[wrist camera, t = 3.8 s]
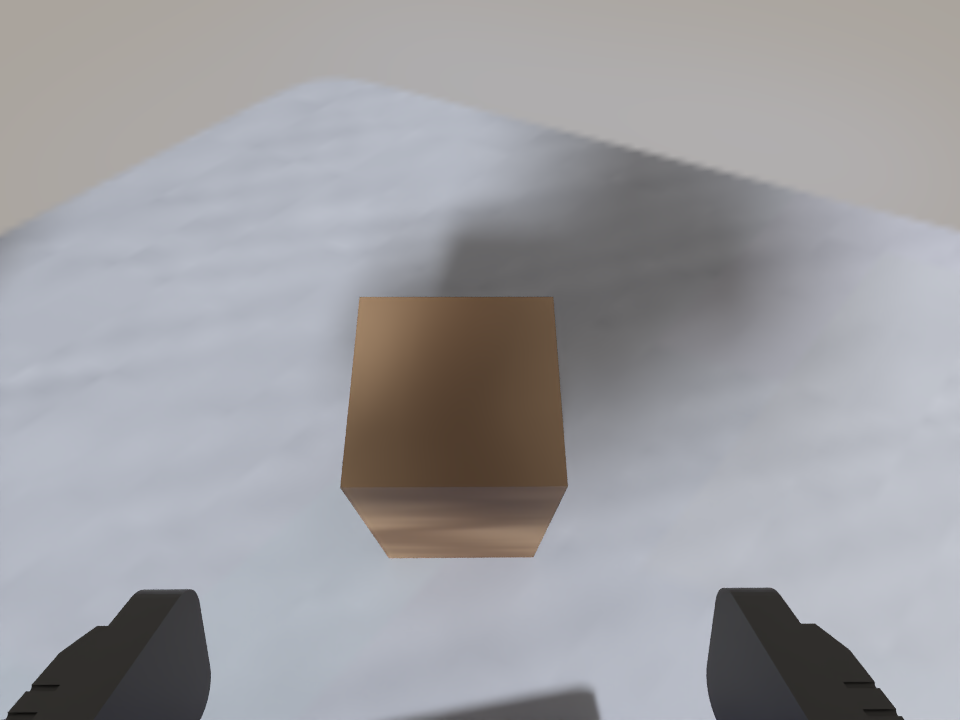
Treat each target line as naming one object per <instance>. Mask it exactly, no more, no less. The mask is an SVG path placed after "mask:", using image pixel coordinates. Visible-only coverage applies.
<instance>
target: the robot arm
mask: <svg viewBox="0 0 960 720" xmlns="http://www.w3.org/2000/svg"><path fill="white" fill-rule="evenodd" d="M706 676H707V688H708V694H709V699H710V703H711V706H712V709H713V712H714V715H715V717H716V720H904V719H903V717H902V716H898V715H897V713H896V708H895V707H894V706H893V705H892V703H891V702H890V701H889V700H888V698H887V697H886V696H885V694H884V693H883V692H882V691H881V689H880V688H876V687H875V682H874V680H873V679H872V678H871V677H870V675H869V674H868V673H867V671H866V670H865V669H864V668H863V666H862V665H861V664H860V663H859V661H858V660H857V659H856V657H855V656H854V655H853V654H852V652H851V651H850V650H849V649H848V648H846V647H845V646H844V645H842V644H841V643H840V642H838V641H837V640H836V639H834V638H833V637H832V636H831V635H829V634H828V633H827V632H825V631H824V630H823V629H821V628H820V627H819V626H817V625H816V624H801V623H800V622H799V620H798V619H797V618H796V616H795V615H794V613H793V612H792V611H791V609H790V608H789V607H788V605H787V604H786V602H785V601H784V600H783V598H782V597H781V595H780V594H779V593H778V592H777V591H776V590H775V589H773V588H722V589H720V590H719V592H718V594H717V597H716V602H715V609H714V617H713V624H712V632H711V639H710V646H709V654H708V661H707V675H706ZM210 682H211V670H210V663H209V657H208V651H207V645H206V639H205V633H204V626H203V620H202V614H201V608H200V602H199V598H198V596H197V594H196V592H195V591H194V590H191V589H174V590H140V591H138V592H137V593H135V594H134V595H133V596H132V597H131V598H130V600H129V601H128V602H127V603H126V605H125V606H124V607H123V608H122V610H121V611H120V612H119V613H118V614H117V616H116V617H115V618H114V619H113V621H112V622H111V623H110V624H109V626H96V627H95V628H94V629H92V630H91V631H89V632H88V633H87V634H85V635H84V636H83V637H81V638H80V639H78V640H77V641H76V642H74V643H73V644H71V645H70V646H69V647H67V648H66V649H64V650H63V651H62V652H60V653H59V654H58V655H57V656H56V658H55V659H54V660H53V661H52V662H51V663H50V665H49V666H48V667H47V668H46V669H45V670H44V671H43V673H42V674H41V675H40V676H39V677H38V678H37V679H36V681H35V682H34V683H33V684H32V688H31V690H30V691H26V692H25V693H24V694H23V696H22V697H21V698H20V699H19V700H18V701H17V702H16V704H15V705H14V706H13V707H12V708H11V709H10V711H9V712H8V716H7V718H6V720H200V719H201V717H202V715H203V712H204V710H205V707H206V703H207V700H208V696H209V690H210Z"/></svg>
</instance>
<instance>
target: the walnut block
mask: <svg viewBox="0 0 960 720" xmlns="http://www.w3.org/2000/svg"><path fill="white" fill-rule="evenodd" d="M567 487H568V483H567V470H566V457H565V444H564V431H563V418H562V405H561V392H560V379H559V366H558V353H557V340H556V327H555V314H554V301H553V297H360V299H359V309H358V319H357V329H356V338H355V348H354V358H353V368H352V378H351V388H350V397H349V407H348V417H347V427H346V437H345V447H344V456H343V466H342V476H341V486H340V488H341V489H342V491H343V492H344V494H345V495H346V496H347V498H348V499H349V501H350V502H351V504H352V505H353V507H354V508H355V509H356V511H357V512H358V514H359V515H360V517H361V518H362V520H363V521H364V523H365V524H366V525H367V527H368V528H369V530H370V531H371V533H372V534H373V536H374V537H375V538H376V540H377V541H378V543H379V544H380V546H381V547H382V549H383V550H384V551H385V553H386V554H387V556H388V557H389V558H483V557H534V555H535V553H536V551H537V548H538V546H539V544H540V542H541V540H542V538H543V536H544V534H545V532H546V530H547V528H548V526H549V524H550V522H551V520H552V518H553V516H554V514H555V512H556V510H557V507H558V505H559V503H560V501H561V499H562V497H563V495H564V493H565V491H566V489H567Z"/></svg>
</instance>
